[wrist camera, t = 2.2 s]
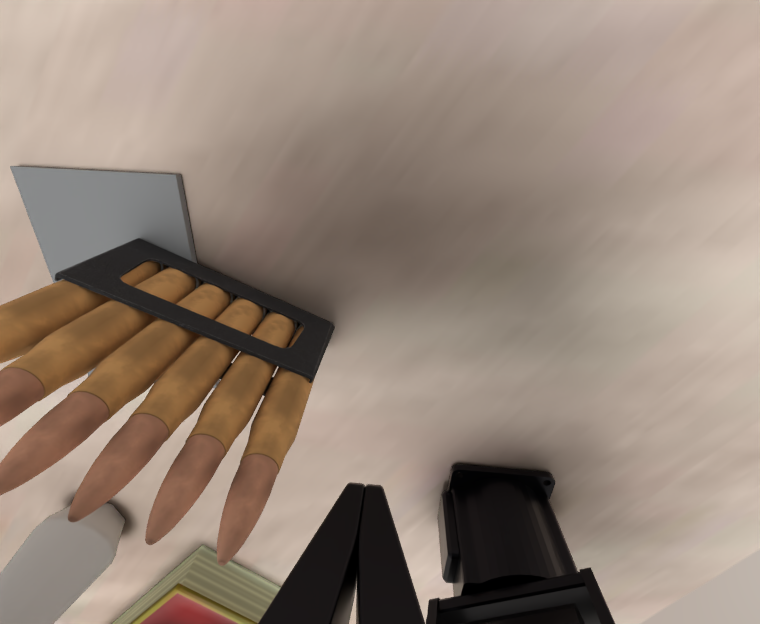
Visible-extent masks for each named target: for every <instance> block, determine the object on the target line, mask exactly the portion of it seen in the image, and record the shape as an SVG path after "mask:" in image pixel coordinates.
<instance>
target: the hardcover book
mask: <svg viewBox="0 0 760 624" xmlns="http://www.w3.org/2000/svg"><path fill="white" fill-rule="evenodd" d="M280 588H281V587H279V586H278V585H276V584H274V583H272V582H270V581H268V580H267V579H265V578H263V577H261V576H259V575H257V574H256V573H254V572H252V571H250V570H248V569H246V568H245V567H243V566H241V565H239V564H237V563H235V562H234V561H232V560H230V561H229V562H228V563H227V564H225V565H224V566H221V565H219V564H218V562H217V552H215V551H213V550H212V549H210V548H208V547H206V546H204V545H202V546H200V547H199V548H198V549H197V550H196V551H195V552H194V553H192V554H191V555H190V556H189V557H188V558H187V559H186V560H184V561H183V562H182V563H181V564H180V565H179V566H178V567H176V568H175V569H174V570H173V571H172V572H171V573H169V574H168V575H167V576H166V577H165V578H164V579H163V580H161V581H160V582H159V583H158V584H157V585H156V586H155V587H153V588H152V589H151V590H150V591H149V592H148V593H146V594H145V595H144V596H143V597H142V598H141V599H140V600H138V601H137V602H136V603H135V604H134V605H133V606H132V607H130V608H129V609H128V610H127V611H126V612H125V613H123V614H122V615H121V616H120V617H119V618H118V619H117V620H115V621H114V622H113V623H112V624H258V622H259V621H260V619H261V618H262V616H263V615H264V613H265V612H266V610H267V608H268V607H269V605H270V604H271V602H272V601H273V599H274V598H275V596H276V594H277V593H278V591H279V590H280Z"/></svg>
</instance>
